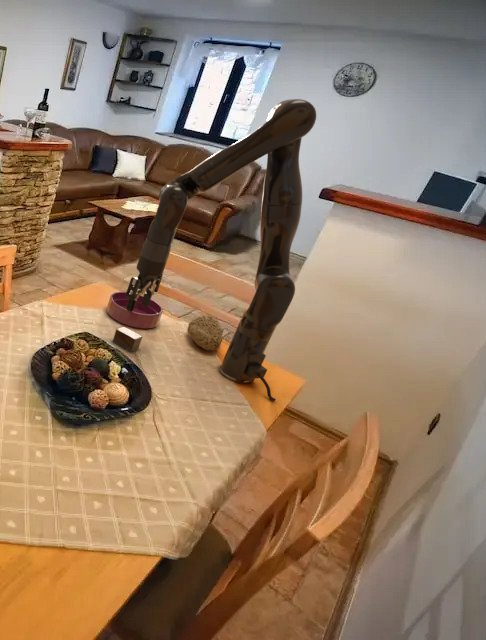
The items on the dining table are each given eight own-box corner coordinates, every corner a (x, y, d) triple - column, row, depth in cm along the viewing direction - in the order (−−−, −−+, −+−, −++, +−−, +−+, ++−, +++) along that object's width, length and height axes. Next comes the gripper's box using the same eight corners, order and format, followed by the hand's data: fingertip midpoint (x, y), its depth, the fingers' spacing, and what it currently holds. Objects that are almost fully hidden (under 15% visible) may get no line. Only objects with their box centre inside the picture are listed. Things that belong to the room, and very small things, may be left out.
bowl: (168, 329, 170) (173, 315, 168) (122, 329, 163) (127, 314, 161) (139, 305, 185) (144, 292, 182) (97, 305, 178) (101, 291, 176)
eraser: (138, 349, 153) (142, 336, 151) (130, 352, 150) (135, 339, 148) (119, 339, 157) (123, 326, 155) (112, 341, 154) (116, 329, 152)
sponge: (191, 328, 178) (174, 332, 162) (204, 310, 175) (188, 312, 159) (224, 350, 173) (209, 356, 156) (237, 331, 170) (224, 336, 153)
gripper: (152, 264, 133) (134, 318, 141) (177, 258, 143) (160, 308, 151) (129, 254, 138) (113, 307, 145) (155, 249, 147) (139, 298, 155)
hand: (137, 308), depth 148 cm, fingers open, 8 cm apart
